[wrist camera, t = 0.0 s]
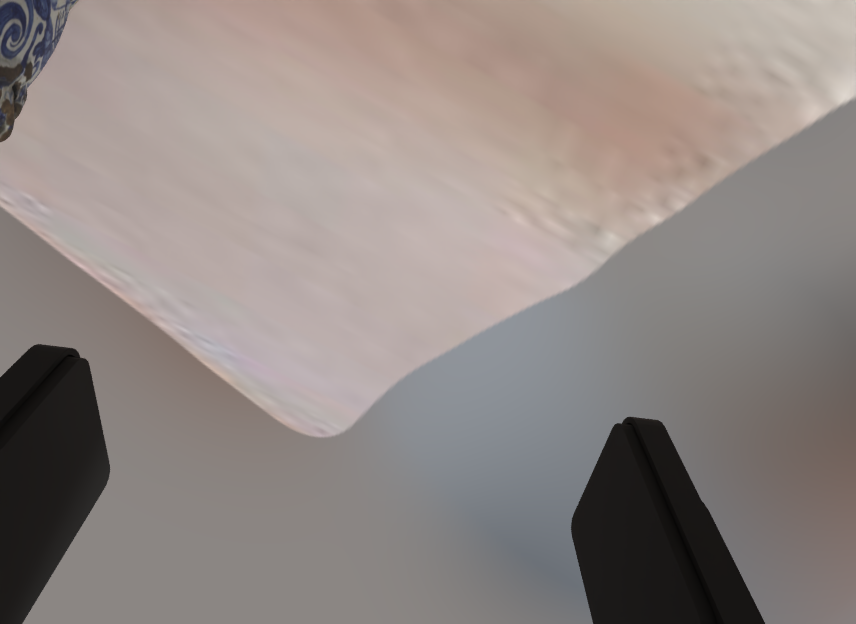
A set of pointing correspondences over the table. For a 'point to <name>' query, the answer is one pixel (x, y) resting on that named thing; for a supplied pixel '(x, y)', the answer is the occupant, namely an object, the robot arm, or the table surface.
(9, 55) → the decorative vase
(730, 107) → the table surface
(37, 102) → the table surface
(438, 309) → the table surface
